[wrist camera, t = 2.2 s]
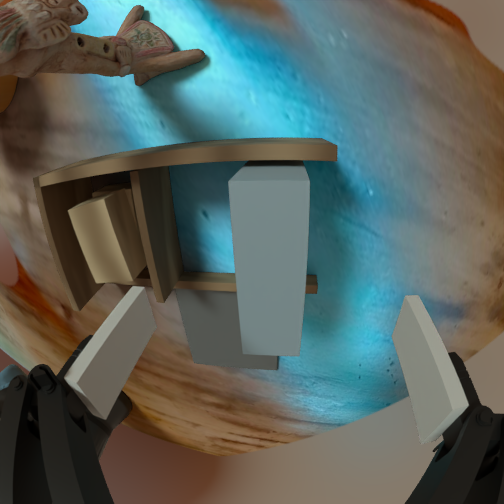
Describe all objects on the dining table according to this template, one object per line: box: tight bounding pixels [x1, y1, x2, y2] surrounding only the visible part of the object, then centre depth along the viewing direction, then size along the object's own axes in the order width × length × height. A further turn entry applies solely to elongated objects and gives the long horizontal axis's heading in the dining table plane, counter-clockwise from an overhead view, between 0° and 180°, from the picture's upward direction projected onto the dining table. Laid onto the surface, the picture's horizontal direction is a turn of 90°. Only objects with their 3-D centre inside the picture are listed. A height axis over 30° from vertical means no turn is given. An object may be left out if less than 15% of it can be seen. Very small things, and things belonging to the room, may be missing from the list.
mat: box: [175, 288, 277, 370], centre depth 34 cm, size 12×14×1 cm
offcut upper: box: [68, 188, 147, 283], centre depth 24 cm, size 5×8×4 cm, turn 11°
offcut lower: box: [92, 183, 143, 245], centre depth 27 cm, size 5×8×4 cm, turn 2°
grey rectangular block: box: [228, 160, 310, 356], centre depth 21 cm, size 4×12×12 cm, turn 3°
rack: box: [33, 138, 337, 311], centre depth 24 cm, size 26×15×8 cm, turn 93°
